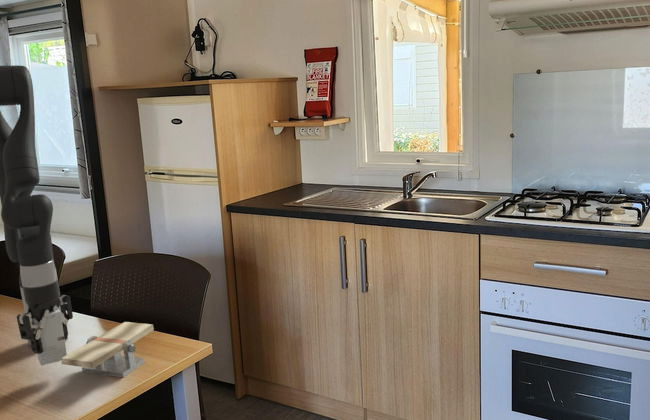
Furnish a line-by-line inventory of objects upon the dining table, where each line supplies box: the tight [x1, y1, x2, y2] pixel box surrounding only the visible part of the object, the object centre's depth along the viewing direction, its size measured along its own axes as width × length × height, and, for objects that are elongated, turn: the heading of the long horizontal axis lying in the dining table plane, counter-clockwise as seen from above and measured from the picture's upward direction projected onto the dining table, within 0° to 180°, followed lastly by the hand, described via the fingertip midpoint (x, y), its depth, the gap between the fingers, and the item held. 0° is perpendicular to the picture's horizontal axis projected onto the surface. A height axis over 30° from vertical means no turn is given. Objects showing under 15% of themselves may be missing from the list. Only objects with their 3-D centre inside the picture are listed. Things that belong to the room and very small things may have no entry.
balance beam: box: [61, 321, 155, 368], centre depth 150 cm, size 9×22×2 cm, turn 158°
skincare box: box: [33, 310, 68, 367], centre depth 146 cm, size 6×4×12 cm
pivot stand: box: [81, 335, 146, 378], centre depth 151 cm, size 14×8×7 cm, turn 68°
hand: (51, 345), depth 147 cm, fingers closed on skincare box, 7 cm apart
